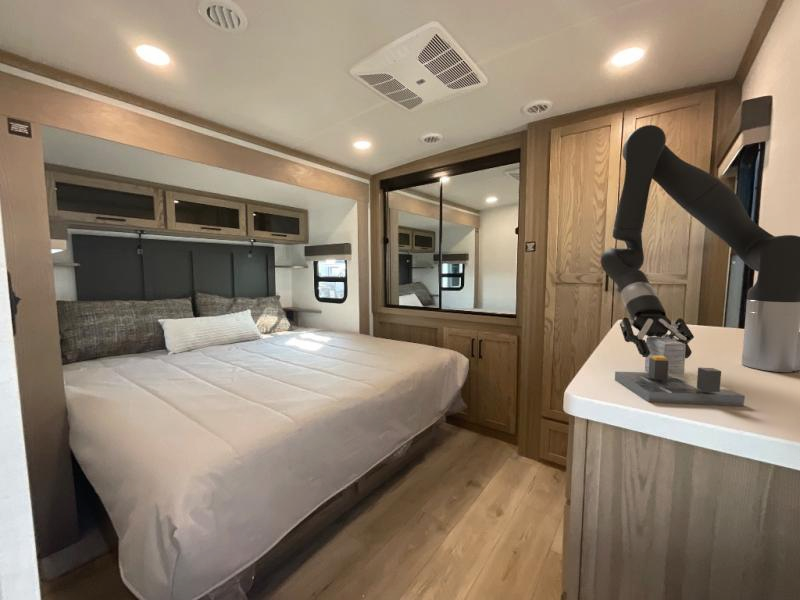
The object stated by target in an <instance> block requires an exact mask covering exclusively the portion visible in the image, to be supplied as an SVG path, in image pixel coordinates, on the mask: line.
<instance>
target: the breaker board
mask: <svg viewBox="0 0 800 600" xmlns="http://www.w3.org/2000/svg"><path fill="white" fill-rule="evenodd" d="M648 375H649V372H647V371H646V372H642V371H640V372H639V371H637V372H636V371H617V370H616V371H615V372H614V381H615V382H617V381H618V382H617V383H619V384H620V383H621V384H620V385H622V386H623V387H625V388H626V389H628V390H629V391H631V392H632V393H634V394H635V395H637V396H639V397H641V398H642V399H643V400H645V401H646V402H648V403H658V404H659V403H664V404H683V405H684V404H685V405H686V404H687V405H688V404H689V405H706V406H707V405H708V406H726V405H731V407H744V406H745V399H746V398H745V395H744V394H741V393H739V392H738V391H737V392H736V391H734V390H732V389H730V388H727V387H725V386H722V385H720V392H706V391H703V390H700V389H698V388H697V377H698V375H696V374H694V373H684V374H683V373H668V377H667V380H662V379H653V378H651V377H649V376H648Z"/></svg>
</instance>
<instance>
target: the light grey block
mask: <svg viewBox="0 0 800 600" xmlns="http://www.w3.org/2000/svg"><path fill="white" fill-rule="evenodd" d="M645 341H646V344H647V346H648V348H649V351H650V355H649V356H648V357H644V358H645V361H644V365H645V366H644V370H645V371H646V372H647V373H649V358H651V356H664V357H666V358H667V360H668V361H669V362H668V373H683V374H685V364H686V359H685V344H684V343H681V342H678V341H675V340H672V339H669V338H666V337H656V336H653V337H648V336H647V337H646V340H645Z"/></svg>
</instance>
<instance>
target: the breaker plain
mask: <svg viewBox="0 0 800 600" xmlns="http://www.w3.org/2000/svg"><path fill="white" fill-rule="evenodd" d="M697 376H698V377H697V388H698V389H700V390H703V391H706V392H720V386H721V379H722V378H721V377H722V370H719V369H716V368H715V367H697Z"/></svg>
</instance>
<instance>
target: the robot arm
mask: <svg viewBox="0 0 800 600" xmlns="http://www.w3.org/2000/svg"><path fill="white" fill-rule="evenodd" d="M666 143H667V137H666V134H665V132H664V130H663V129H662V128H661V127H659V126H657V125H653V124H648V125H643V126H640V127H638V128H637V129H635V130H634V131H632V132H631V133H630V134H629V136H628V137H627V138H626V140H625V141H624V143H623V147H622V157H623V159H624V161H625V171H624V181H623V185H622V191H621V194H620V198H619V201H618V205H617V209H616V213H615V219H614V224H613V231H612V238H613V239H614V240H618V241H622V242H625V245H626V248H618V247H617V248H615V247H614V248H613V247H612V248H608V249H606V250H605V251H603V253H602V254H601V257H600V265H601V267H602V270H603V272H604V273H606V275H607V276H608V277H609V278H610V279H611V281H613V282H614V284H616V286H617V288H618V291H619V293H620V295H621V299H622V303H623V305H624V307H625V309H626V312H627V314H628V316H629V318H628V317H626V316H625V317H623V318H622V320H621V322H620V323H619V327H620V330H621V332H622V336H623V338H624V339H623V340H624V341H625V342H626V343H633V344H634V345H635V347H636V349H637V351H638V353H639V355H640V356H641V357H642V358H646V357H648V356H649V355H650V351H649V348H648V346H647V344H646V340H645V339H644V338H645V336H647V337H666V338H669V339H672V340H675V341H678V342H681V343H684V344H685V360H687V359H688V358H690V356H691V354H692V349H691V347H690V346H689V343H690V342H691V341H692V340H693V339H694V337H695V336H694V335H693V333H692V331H691V330H690V328H689V326H688V325H687V323H686V322H685V320H684V319H683V318H682V317H680V318H677V320H670V319H669V318H668V317H667V314H666V310H665V308H664V305H663V304H662V302H661V301H660V298H659V296H658V294H657V293H656V290H655V289H654V288H653V287H652V286H651V284H650V282H649V279H648V277H647V275H646V274H645V272H643V271H642V270H640V269H641V268H642V266H643V265H644V260H645V257H644V248H643V238H642V234H643V229H644V222H645V218H646V211H647V208H648V207H647V206H648V200H649V193H650V189H651V188H650V187H651V183H652V182H653V181H654V182H655V183H656V184H658V185H659V186H660V187H661V188H662V190H663V191H664V192H665V193H666V194H667V195H668V196H670V197H671V199H672V200H673V201H675V202H676V203H677V205H679V206H680V207H681V209H683V210H685V211H686V213H688V214H689V215H691V217H693V218H694V219H696V220H697V221H698V222H700V223H701V224H702V225H703V226H705V228H706V229H708V230H709V231H711V232H712V233H713V234H715V235H716V236H717V237H718V238H720V239H721V240H722V241H723V242H725V244H726V245H727V246H729V248H730V249H731V250H733V252H734V253H735V254H736V255H737V256H738V258H739V259H740V260H741V261H742V262H743V263H744V264H745V265H747V266H748V267H749V268H750V269H751V270H753V271H755V272H758V273H757V279H756V282H755V283H754V285H753V286H751V287H750V288H749V289H748V290H747V294H746V295H747V296H746V305H745V306H746V308H745V318H744V319H745V321H744V330H743V331H744V332H743V345H742V353H741V354H742V355H741V365H743V366H745V367H749V368H752V369H757V370H763V371H769V372H776V373H777V372H778V373H793V372H792V371H795V372H799V371H798V370H800V236H799V235H794V234H793V235H791V234H785V235H784V234H783V235H779V236H778V235H777V236H776V235H775V236H774V235H773V234H771V233H770V232H768V231H766V229H764V228H762V227H761V226H760V225H759V224H757V223H756V222H755V221H754V220H752V218H751V216H749V214H748V212H747V211H746V208H745V206H744V205H743V203H742V201H741V198H739V196H738V195H737V194H736V192H735V191H734V190H733V189H732V188H730V187H729V186H728V185H726V184H725V182H723V181H722V180H720V179H719V178H717V177H716V176H715V175H714V174H712V173H709V172H707V171H706V170H704V169H701V168H699V167H697V166H695V165H693V164H691V163H689V162H687V161H685V160H683V159H681V158H680V157H679V156H678V155H676V154H675V153H674V151H672V150H671V149H670V147H668V146H667V145H666ZM652 180H653V181H652ZM632 327H634V328H635V329H636V330H637V331H638V332H637V334H636V335H635V333H634V331H633V328H632ZM668 332H670V333H668Z"/></svg>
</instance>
